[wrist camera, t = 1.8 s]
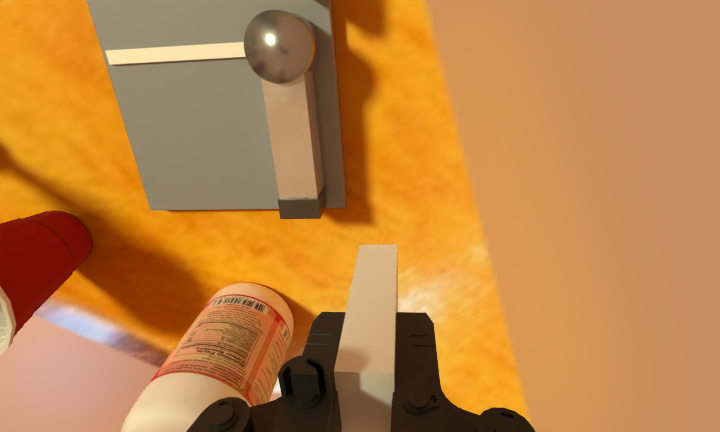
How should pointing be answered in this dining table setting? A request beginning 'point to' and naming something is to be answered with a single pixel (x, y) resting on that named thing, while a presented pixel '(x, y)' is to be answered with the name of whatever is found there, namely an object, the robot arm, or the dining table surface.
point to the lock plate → (209, 100)
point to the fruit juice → (218, 359)
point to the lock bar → (290, 107)
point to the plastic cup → (36, 264)
